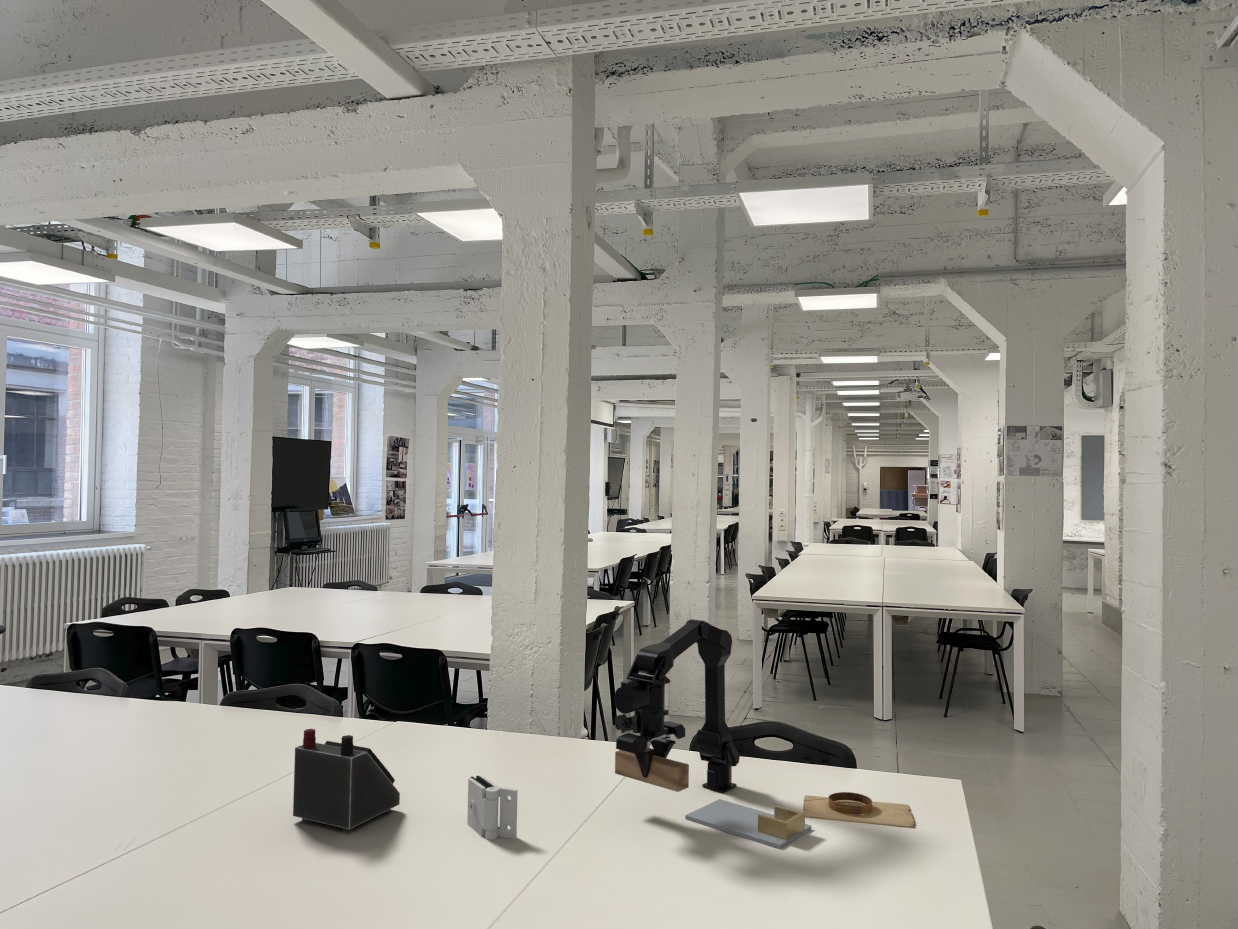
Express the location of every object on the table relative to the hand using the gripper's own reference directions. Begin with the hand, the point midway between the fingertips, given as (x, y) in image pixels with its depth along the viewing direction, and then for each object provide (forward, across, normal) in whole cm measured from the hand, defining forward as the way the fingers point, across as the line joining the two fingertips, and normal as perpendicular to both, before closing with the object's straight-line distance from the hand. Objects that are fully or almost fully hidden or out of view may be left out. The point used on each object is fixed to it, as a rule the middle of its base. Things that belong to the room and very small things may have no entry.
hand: (651, 775), depth 188 cm
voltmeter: (+10, +45, -51) cm, 69 cm away
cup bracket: (+9, -12, +26) cm, 30 cm away
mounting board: (+10, -12, +18) cm, 24 cm away
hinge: (+10, +29, -21) cm, 37 cm away
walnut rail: (+1, 0, 0) cm, 1 cm away
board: (+10, -36, +33) cm, 50 cm away
